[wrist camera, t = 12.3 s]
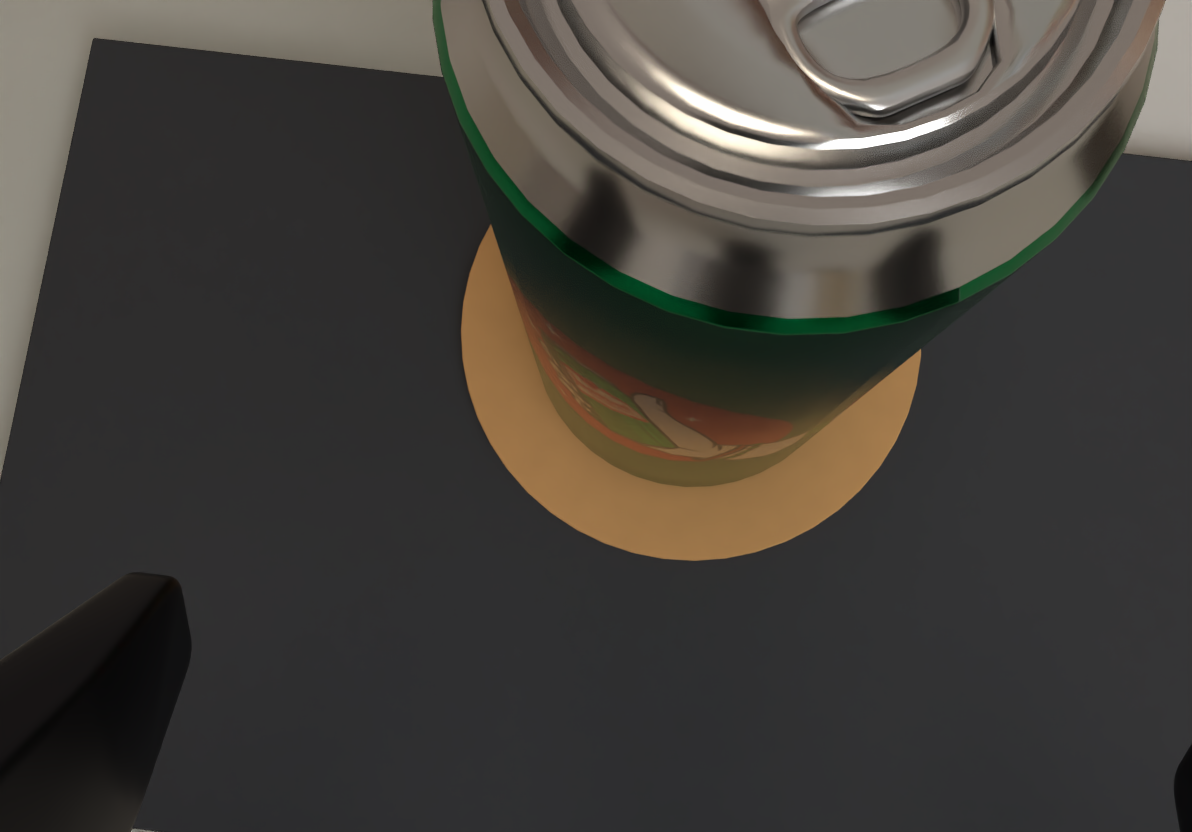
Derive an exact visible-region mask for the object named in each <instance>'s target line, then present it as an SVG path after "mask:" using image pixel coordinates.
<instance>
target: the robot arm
mask: <svg viewBox="0 0 1192 832" xmlns="http://www.w3.org/2000/svg"><path fill="white" fill-rule="evenodd" d="M191 651H192V641H191V634H190V629H189V624H188V618H187V613H186V608H185V602H184V597H183V592H182V588H181V585H180V583H179V582H178V580H177V579H176V578H174V577H171V576H167V575H159V574H151V573H143V572H132V573H129V574H126V575H124V576H122V577H121V578H119V579H118V580H116V581H115V582H113V583H112V584H110V585H109V586H108V587H106V588H105V589H103V590H102V591H100V592H99V593H97V594H96V595H94V596H93V597H91V598H90V599H89V600H87V601H86V602H84V603H83V604H81V605H80V606H78V607H77V608H75V609H74V610H72V611H71V612H70V613H68V614H67V615H65V616H64V617H62V618H61V619H59V620H58V621H56V622H55V623H53V624H52V625H51V626H49V627H48V628H46V629H45V630H43V631H42V632H40V633H39V634H37V635H36V636H34V637H33V638H32V639H30V640H29V641H27V642H26V643H24V644H23V645H21V646H20V647H18V648H17V649H15V650H14V651H13V652H11V653H10V654H8V655H7V656H5V657H4V658H2V659H1V660H0V832H131V830H132V827H133V825H134V823H135V820H136V817H137V815H138V812H139V809H140V807H141V804H142V801H143V798H144V796H145V793H146V790H147V787H148V784H149V781H150V778H151V775H152V772H153V769H154V766H155V763H156V761H157V758H158V755H159V752H160V749H161V746H162V743H163V740H164V737H165V734H166V731H167V728H168V726H169V723H170V720H171V717H172V714H173V711H174V708H175V705H176V702H177V699H178V696H179V693H180V690H181V688H182V685H183V682H184V679H185V676H186V673H187V670H188V667H189V663H190V658H191ZM1174 799H1175V805H1176V811H1177V817H1178V823H1179V829H1180V832H1192V744H1191V745H1190V747H1189V749H1188V750H1187V752H1186V754H1185V755H1184V757H1183V759H1182V760H1181V762H1180V764H1179V765H1178V768H1177V770H1176V774H1175V778H1174Z"/></svg>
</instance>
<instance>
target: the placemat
mask: <svg viewBox="0 0 1192 832" xmlns="http://www.w3.org/2000/svg"><path fill="white" fill-rule="evenodd" d="M132 572H143V573H151V574H159V575H167V576H171V577H174V578H176V579H177V580H178V582H179V583H180V585H181V588H182V592H183V597H184V602H185V608H186V613H187V618H188V624H189V629H190V634H191V641H192V651H191V658H190V663H189V667H188V670H187V673H186V676H185V679H184V682H183V685H182V688H181V690H180V693H179V696H178V699H177V702H176V705H175V708H174V711H173V714H172V717H171V720H170V723H169V726H168V728H167V731H166V734H165V737H164V740H163V743H162V746H161V749H160V752H159V755H158V758H157V761H156V763H155V766H154V769H153V772H152V775H151V778H150V781H149V784H148V787H147V790H146V793H145V796H144V798H143V801H142V804H141V807H140V809H139V812H138V815H137V817H136V820H135V823H134V825H133V827H132V828H136V829H143V830H151V831H158V832H1180V829H1179V823H1178V817H1177V811H1176V805H1175V799H1174V778H1175V774H1176V770H1177V768H1178V765H1179V764H1180V762H1181V760H1182V759H1183V757H1184V755H1185V754H1186V752H1187V750H1188V749H1189V747H1190V745H1191V744H1192V161H1187V160H1178V159H1169V158H1160V157H1151V156H1142V155H1133V154H1124V153H1122V155H1121V157H1120V158H1119V160H1118V161H1117V163H1116V164H1115V166H1114V167H1113V169H1112V170H1111V172H1110V173H1109V175H1108V177H1107V178H1106V180H1105V181H1104V183H1103V184H1102V186H1101V187H1100V189H1099V190H1098V192H1097V194H1096V195H1095V197H1094V198H1093V199H1092V201H1091V202H1090V203H1089V204H1088V205H1087V206H1086V207H1085V208H1084V209H1083V210H1082V211H1081V212H1080V214H1079V215H1078V216H1077V217H1076V218H1075V219H1074V220H1073V221H1072V222H1071V223H1070V224H1069V226H1068V227H1067V228H1066V229H1065V230H1064V231H1063V232H1062V233H1061V234H1060V235H1059V236H1058V237H1057V239H1056V240H1055V241H1054V242H1052V243H1051V244H1050V245H1049V246H1047V247H1046V248H1045V249H1044V250H1042V251H1041V252H1040V253H1039V254H1038V255H1036V256H1035V257H1034V258H1033V259H1031V260H1030V261H1029V262H1028V263H1026V264H1025V265H1024V266H1023V267H1022V268H1020V269H1019V270H1018V271H1017V272H1015V273H1014V274H1013V275H1012V276H1010V277H1009V278H1008V279H1007V280H1005V281H1004V282H1003V283H1002V284H1001V285H999V286H998V287H997V288H996V289H994V290H993V291H992V292H991V293H989V294H988V295H987V296H986V297H985V298H983V299H982V300H981V301H980V302H978V303H977V304H976V305H975V306H973V307H972V308H971V309H970V310H968V311H967V312H966V313H965V314H964V315H962V316H961V317H960V318H959V319H957V320H956V321H955V322H954V323H952V324H951V325H950V326H949V327H948V328H946V329H945V330H944V331H943V332H941V333H940V334H939V335H938V336H936V337H935V338H934V339H933V340H931V341H930V342H929V343H928V344H927V345H925V346H924V347H923V348H922V349H920V350H919V351H918V352H917V353H915V354H914V355H913V356H912V357H911V358H909V359H908V360H907V361H906V362H904V363H903V364H902V365H901V366H899V367H898V368H897V369H896V370H894V371H893V372H892V373H891V374H890V375H888V376H887V377H886V378H885V379H883V380H882V381H881V382H880V383H878V384H877V385H876V386H875V387H874V388H872V389H871V390H870V391H869V392H867V393H866V394H865V395H864V396H862V397H861V398H860V399H859V400H857V401H856V402H855V403H854V404H853V405H851V406H850V407H849V408H848V409H846V410H845V411H844V412H843V413H841V414H840V415H839V416H838V417H837V418H835V419H834V420H833V421H832V422H830V423H829V424H828V425H827V426H825V427H824V428H823V429H822V430H820V431H819V432H818V433H817V434H816V435H814V436H813V437H812V438H811V439H809V440H808V441H807V442H806V443H804V444H803V445H802V446H801V447H799V448H798V449H797V450H796V451H794V452H793V453H792V454H790V455H789V456H788V457H787V458H785V459H784V460H783V461H781V462H779V463H778V464H776V465H774V466H772V467H770V468H768V469H767V470H765V471H763V472H761V473H759V474H756V475H753V476H751V477H748V478H745V479H742V480H739V481H736V482H732V483H726V484H721V485H716V486H706V487H681V486H673V485H666V484H659V483H656V482H652V481H649V480H646V479H642V478H639V477H635V476H633V475H631V474H629V473H627V472H625V471H623V470H621V469H618V468H616V467H614V466H612V465H611V464H609V463H608V462H606V461H605V460H603V459H602V458H601V457H599V456H598V455H596V454H595V453H593V452H592V451H591V450H590V449H589V448H587V447H586V446H585V445H584V444H583V443H582V442H581V441H580V440H579V439H578V438H577V437H576V436H575V435H574V434H573V433H572V432H571V430H570V429H569V428H568V427H567V425H566V424H565V423H564V421H563V420H562V419H561V418H560V416H559V415H558V413H557V411H556V410H555V408H554V406H553V404H552V402H551V400H550V399H549V397H548V395H547V393H546V390H545V388H544V385H543V382H542V379H541V376H540V373H539V371H538V368H537V364H536V361H535V358H534V355H533V352H532V349H531V346H530V343H529V340H528V337H527V334H526V331H525V327H524V324H523V321H522V318H521V315H520V312H519V309H518V306H517V303H516V300H515V297H514V294H513V291H512V287H511V284H510V281H509V278H508V275H507V272H506V269H505V266H504V263H503V260H502V257H501V254H500V250H499V247H498V244H497V241H496V238H495V235H494V232H493V229H492V226H491V223H490V220H489V217H488V214H487V210H486V207H485V204H484V201H483V198H482V195H481V192H480V189H479V186H478V183H477V180H476V177H475V173H474V170H473V167H472V164H471V161H470V158H469V155H468V152H467V149H466V146H465V143H464V140H463V136H462V133H461V130H460V127H459V124H458V121H457V118H456V115H455V112H454V109H453V106H452V103H451V100H450V96H449V93H448V90H447V87H446V84H445V81H444V78H443V77H437V76H428V75H419V74H410V73H401V72H392V71H383V70H374V69H366V68H357V67H348V66H339V65H330V64H321V63H312V62H303V61H294V60H285V59H276V58H267V57H258V56H250V55H241V54H232V53H223V52H214V51H205V50H196V49H187V48H178V47H169V46H160V45H151V44H142V43H134V42H125V41H116V40H107V39H98V38H94V39H93V41H92V46H91V51H90V55H89V60H88V65H87V70H86V75H85V79H84V84H83V89H82V94H81V98H80V103H79V108H78V113H77V117H76V122H75V127H74V132H73V137H72V141H71V146H70V151H69V156H68V160H67V165H66V170H65V175H64V179H63V184H62V189H61V194H60V199H59V203H58V208H57V213H56V218H55V222H54V227H53V232H52V237H51V241H50V246H49V251H48V256H47V260H46V265H45V270H44V275H43V280H42V284H41V289H40V294H39V299H38V303H37V308H36V313H35V318H34V322H33V327H32V332H31V337H30V342H29V346H28V351H27V356H26V361H25V365H24V370H23V375H22V380H21V384H20V389H19V394H18V399H17V404H16V408H15V413H14V418H13V423H12V427H11V432H10V437H9V442H8V446H7V451H6V456H5V461H4V465H3V470H2V475H1V480H0V660H1V659H2V658H4V657H5V656H7V655H8V654H10V653H11V652H13V651H14V650H15V649H17V648H18V647H20V646H21V645H23V644H24V643H26V642H27V641H29V640H30V639H32V638H33V637H34V636H36V635H37V634H39V633H40V632H42V631H43V630H45V629H46V628H48V627H49V626H51V625H52V624H53V623H55V622H56V621H58V620H59V619H61V618H62V617H64V616H65V615H67V614H68V613H70V612H71V611H72V610H74V609H75V608H77V607H78V606H80V605H81V604H83V603H84V602H86V601H87V600H89V599H90V598H91V597H93V596H94V595H96V594H97V593H99V592H100V591H102V590H103V589H105V588H106V587H108V586H109V585H110V584H112V583H113V582H115V581H116V580H118V579H119V578H121V577H122V576H124V575H126V574H129V573H132Z"/></svg>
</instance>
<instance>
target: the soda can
mask: <svg viewBox="0 0 1192 832" xmlns="http://www.w3.org/2000/svg"><path fill="white" fill-rule="evenodd" d="M1165 1H1166V0H433V25H434V31H435V36H436V42H437V48H438V54H439V59H440V65H441V71H442V75H443V78H444V81H445V84H446V87H447V90H448V93H449V96H450V100H451V103H452V106H453V109H454V112H455V115H456V118H457V121H458V124H459V127H460V130H461V133H462V136H463V140H464V143H465V146H466V149H467V152H468V155H469V158H470V161H471V164H472V167H473V170H474V173H475V177H476V180H477V183H478V186H479V189H480V192H481V195H482V198H483V201H484V204H485V207H486V210H487V214H488V217H489V220H490V223H491V226H492V229H493V232H494V235H495V238H496V241H497V244H498V247H499V250H500V254H501V257H502V260H503V263H504V266H505V269H506V272H507V275H508V278H509V281H510V284H511V287H512V291H513V294H514V297H515V300H516V303H517V306H518V309H519V312H520V315H521V318H522V321H523V324H524V327H525V331H526V334H527V337H528V340H529V343H530V346H531V349H532V352H533V355H534V358H535V361H536V364H537V368H538V371H539V373H540V376H541V379H542V382H543V385H544V388H545V390H546V393H547V395H548V397H549V399H550V400H551V402H552V404H553V406H554V408H555V410H556V411H557V413H558V415H559V416H560V418H561V419H562V420H563V421H564V423H565V424H566V425H567V427H568V428H569V429H570V430H571V432H572V433H573V434H574V435H575V436H576V437H577V438H578V439H579V440H580V441H581V442H582V443H583V444H584V445H585V446H586V447H587V448H589V449H590V450H591V451H592V452H593V453H595V454H596V455H598V456H599V457H601V458H602V459H603V460H605V461H606V462H608V463H609V464H611V465H612V466H614V467H616V468H618V469H621V470H623V471H625V472H627V473H629V474H631V475H633V476H635V477H639V478H642V479H646V480H649V481H652V482H656V483H659V484H666V485H673V486H681V487H706V486H716V485H721V484H726V483H732V482H736V481H739V480H742V479H745V478H748V477H751V476H753V475H756V474H759V473H761V472H763V471H765V470H767V469H768V468H770V467H772V466H774V465H776V464H778V463H779V462H781V461H783V460H784V459H785V458H787V457H788V456H789V455H790V454H792V453H793V452H794V451H796V450H797V449H798V448H799V447H801V446H802V445H803V444H804V443H806V442H807V441H808V440H809V439H811V438H812V437H813V436H814V435H816V434H817V433H818V432H819V431H820V430H822V429H823V428H824V427H825V426H827V425H828V424H829V423H830V422H832V421H833V420H834V419H835V418H837V417H838V416H839V415H840V414H841V413H843V412H844V411H845V410H846V409H848V408H849V407H850V406H851V405H853V404H854V403H855V402H856V401H857V400H859V399H860V398H861V397H862V396H864V395H865V394H866V393H867V392H869V391H870V390H871V389H872V388H874V387H875V386H876V385H877V384H878V383H880V382H881V381H882V380H883V379H885V378H886V377H887V376H888V375H890V374H891V373H892V372H893V371H894V370H896V369H897V368H898V367H899V366H901V365H902V364H903V363H904V362H906V361H907V360H908V359H909V358H911V357H912V356H913V355H914V354H915V353H917V352H918V351H919V350H920V349H922V348H923V347H924V346H925V345H927V344H928V343H929V342H930V341H931V340H933V339H934V338H935V337H936V336H938V335H939V334H940V333H941V332H943V331H944V330H945V329H946V328H948V327H949V326H950V325H951V324H952V323H954V322H955V321H956V320H957V319H959V318H960V317H961V316H962V315H964V314H965V313H966V312H967V311H968V310H970V309H971V308H972V307H973V306H975V305H976V304H977V303H978V302H980V301H981V300H982V299H983V298H985V297H986V296H987V295H988V294H989V293H991V292H992V291H993V290H994V289H996V288H997V287H998V286H999V285H1001V284H1002V283H1003V282H1004V281H1005V280H1007V279H1008V278H1009V277H1010V276H1012V275H1013V274H1014V273H1015V272H1017V271H1018V270H1019V269H1020V268H1022V267H1023V266H1024V265H1025V264H1026V263H1028V262H1029V261H1030V260H1031V259H1033V258H1034V257H1035V256H1036V255H1038V254H1039V253H1040V252H1041V251H1042V250H1044V249H1045V248H1046V247H1047V246H1049V245H1050V244H1051V243H1052V242H1054V241H1055V240H1056V239H1057V237H1058V236H1059V235H1060V234H1061V233H1062V232H1063V231H1064V230H1065V229H1066V228H1067V227H1068V226H1069V224H1070V223H1071V222H1072V221H1073V220H1074V219H1075V218H1076V217H1077V216H1078V215H1079V214H1080V212H1081V211H1082V210H1083V209H1084V208H1085V207H1086V206H1087V205H1088V204H1089V203H1090V202H1091V201H1092V199H1093V198H1094V197H1095V195H1096V194H1097V192H1098V190H1099V189H1100V187H1101V186H1102V184H1103V183H1104V181H1105V180H1106V178H1107V177H1108V175H1109V173H1110V172H1111V170H1112V169H1113V167H1114V166H1115V164H1116V163H1117V161H1118V160H1119V158H1120V157H1121V155H1122V153H1123V152H1124V150H1125V147H1126V145H1127V143H1128V140H1129V138H1130V136H1131V133H1132V131H1133V128H1134V126H1135V124H1136V121H1137V119H1138V117H1139V114H1140V112H1141V110H1142V107H1143V105H1144V103H1145V99H1146V95H1147V91H1148V86H1149V82H1150V78H1151V74H1152V69H1153V65H1154V61H1155V57H1156V52H1157V46H1158V28H1159V17H1160V15H1161V13H1162V10H1163V7H1164V4H1165Z"/></svg>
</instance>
